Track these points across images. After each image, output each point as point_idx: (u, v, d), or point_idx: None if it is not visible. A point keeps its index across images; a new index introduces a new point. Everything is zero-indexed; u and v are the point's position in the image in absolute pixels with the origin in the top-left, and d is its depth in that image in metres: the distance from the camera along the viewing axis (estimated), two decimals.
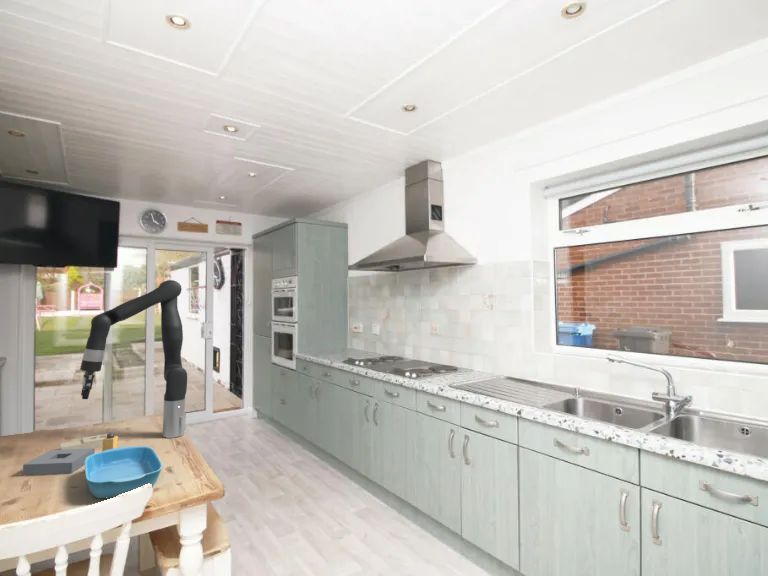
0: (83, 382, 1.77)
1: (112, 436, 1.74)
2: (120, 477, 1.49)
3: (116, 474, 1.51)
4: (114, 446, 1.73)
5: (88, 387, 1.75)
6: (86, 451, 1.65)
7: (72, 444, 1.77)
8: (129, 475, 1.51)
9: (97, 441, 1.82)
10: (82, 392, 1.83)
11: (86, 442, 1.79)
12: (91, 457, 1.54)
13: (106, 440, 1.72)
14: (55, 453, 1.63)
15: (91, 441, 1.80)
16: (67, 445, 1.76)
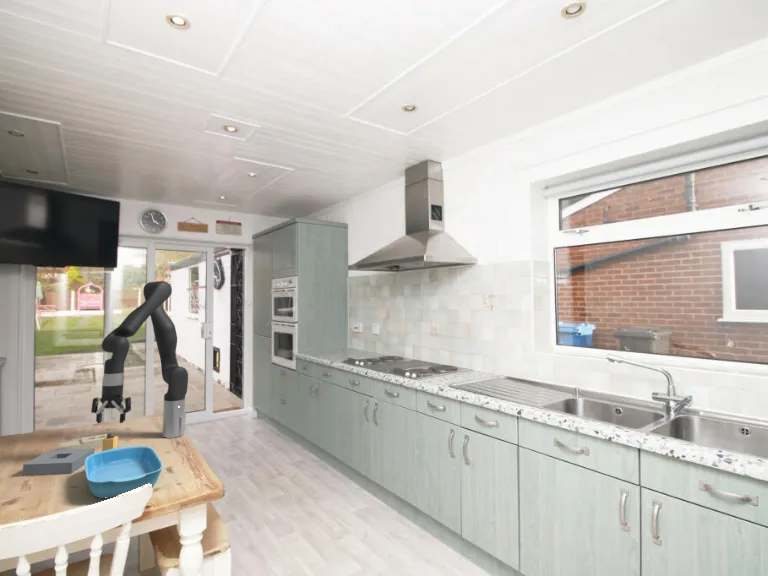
0: (117, 407, 1.74)
1: (112, 436, 1.74)
2: (120, 477, 1.49)
3: (116, 474, 1.51)
4: (114, 446, 1.73)
5: (129, 409, 1.76)
6: (86, 451, 1.65)
7: (71, 444, 1.77)
8: (129, 475, 1.51)
9: (96, 441, 1.81)
10: (99, 419, 1.73)
11: (85, 442, 1.79)
12: (91, 457, 1.54)
13: (106, 440, 1.72)
14: (55, 453, 1.63)
15: (90, 441, 1.80)
16: (66, 445, 1.76)
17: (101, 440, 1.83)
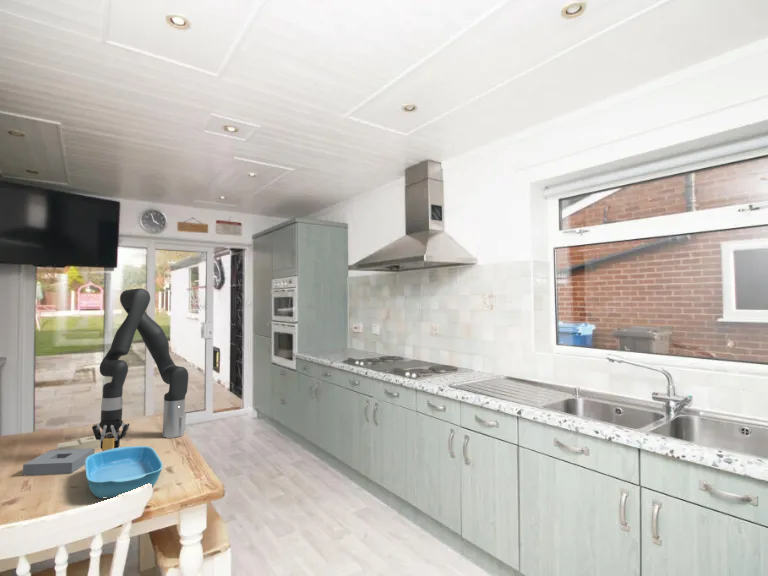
0: (114, 432, 1.73)
1: (112, 436, 1.74)
2: (120, 477, 1.49)
3: (117, 474, 1.51)
4: None
5: (123, 436, 1.75)
6: (86, 451, 1.65)
7: (69, 444, 1.77)
8: (129, 475, 1.51)
9: (94, 441, 1.81)
10: None
11: (83, 442, 1.79)
12: (91, 457, 1.54)
13: (106, 440, 1.72)
14: (55, 453, 1.63)
15: (88, 441, 1.80)
16: (64, 445, 1.75)
17: None
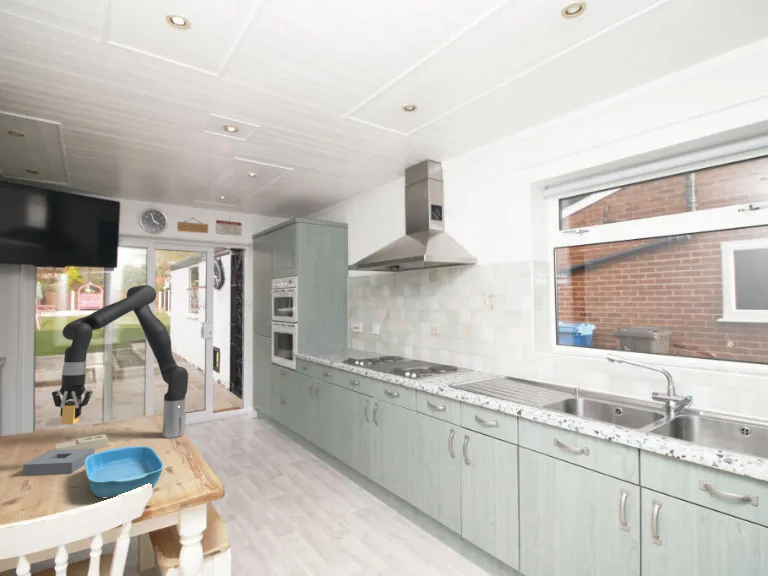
0: (75, 399, 1.62)
1: (73, 403, 1.63)
2: (120, 477, 1.49)
3: (116, 474, 1.51)
4: None
5: (85, 404, 1.64)
6: (86, 451, 1.65)
7: (67, 445, 1.76)
8: (129, 475, 1.51)
9: (92, 442, 1.81)
10: None
11: (81, 443, 1.78)
12: (91, 457, 1.53)
13: (66, 407, 1.61)
14: (55, 453, 1.63)
15: (86, 442, 1.79)
16: (62, 446, 1.75)
17: (98, 441, 1.82)
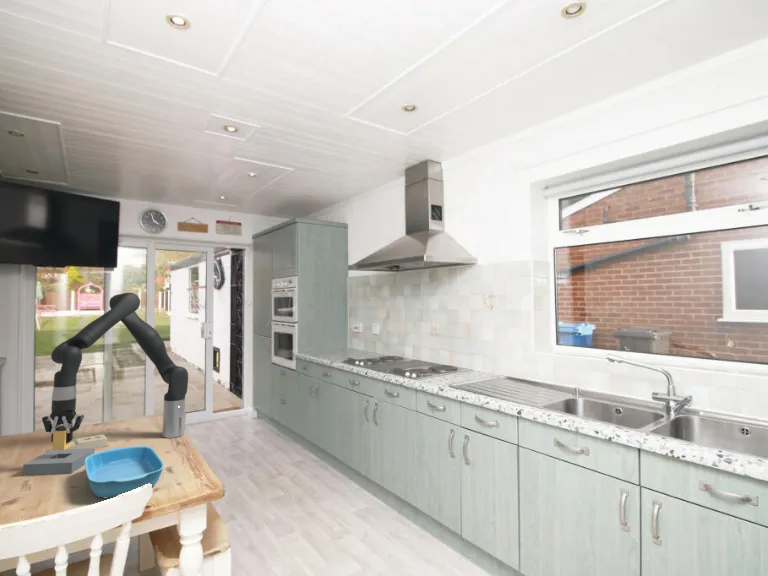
0: (66, 424, 1.59)
1: (64, 428, 1.60)
2: (121, 477, 1.49)
3: (116, 474, 1.51)
4: None
5: (76, 428, 1.62)
6: (86, 451, 1.65)
7: None
8: (129, 475, 1.51)
9: (91, 442, 1.80)
10: None
11: (80, 443, 1.78)
12: (90, 457, 1.53)
13: (57, 432, 1.58)
14: (55, 453, 1.63)
15: (85, 442, 1.79)
16: None
17: (96, 441, 1.82)
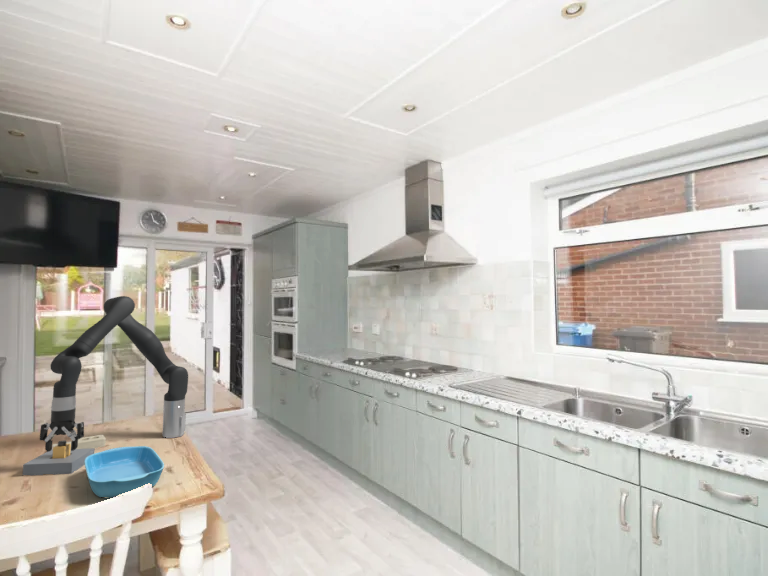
0: (68, 433, 1.59)
1: (64, 444, 1.60)
2: (121, 477, 1.49)
3: (116, 474, 1.51)
4: (66, 455, 1.60)
5: (81, 435, 1.62)
6: (86, 451, 1.65)
7: None
8: (129, 475, 1.51)
9: (90, 442, 1.80)
10: (49, 447, 1.59)
11: (79, 443, 1.77)
12: (90, 457, 1.53)
13: (57, 448, 1.58)
14: None
15: (84, 442, 1.79)
16: None
17: (95, 441, 1.81)
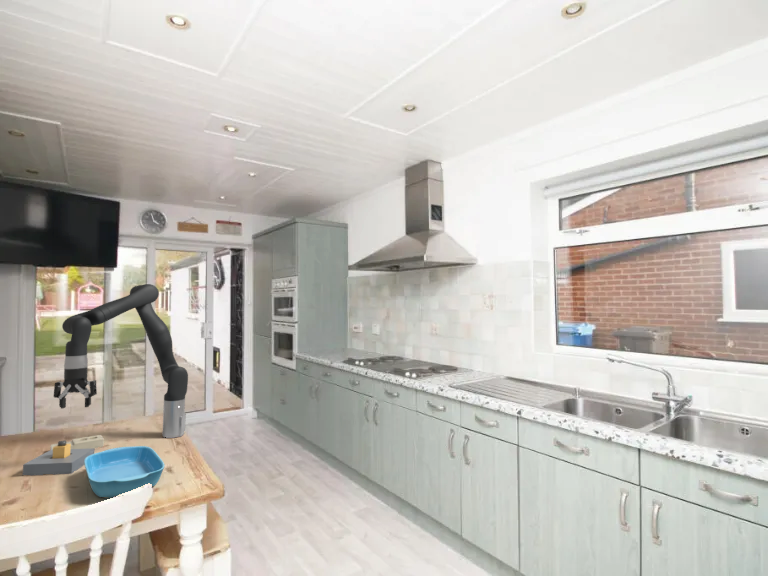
0: (81, 391, 1.65)
1: (64, 444, 1.60)
2: (121, 477, 1.49)
3: (116, 474, 1.51)
4: (66, 455, 1.60)
5: (94, 393, 1.67)
6: (86, 451, 1.65)
7: None
8: (129, 475, 1.51)
9: (88, 442, 1.80)
10: (63, 404, 1.64)
11: (77, 443, 1.77)
12: (90, 458, 1.53)
13: (57, 448, 1.58)
14: None
15: (82, 442, 1.78)
16: None
17: (93, 441, 1.81)
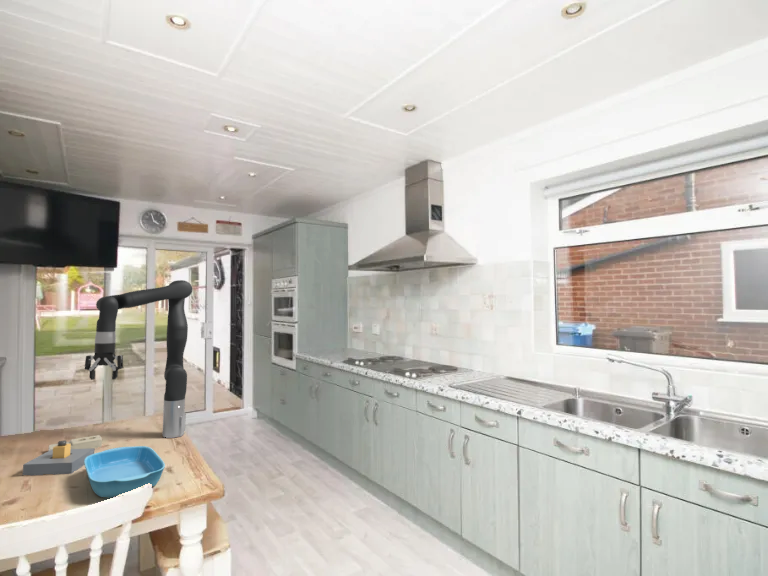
0: (110, 364, 1.80)
1: (64, 444, 1.60)
2: (121, 477, 1.49)
3: (116, 474, 1.51)
4: (66, 455, 1.60)
5: (121, 366, 1.83)
6: (86, 451, 1.65)
7: None
8: (129, 475, 1.51)
9: (86, 443, 1.79)
10: (92, 376, 1.80)
11: (75, 444, 1.77)
12: (89, 458, 1.53)
13: (57, 448, 1.58)
14: None
15: (80, 443, 1.78)
16: None
17: (92, 442, 1.81)
